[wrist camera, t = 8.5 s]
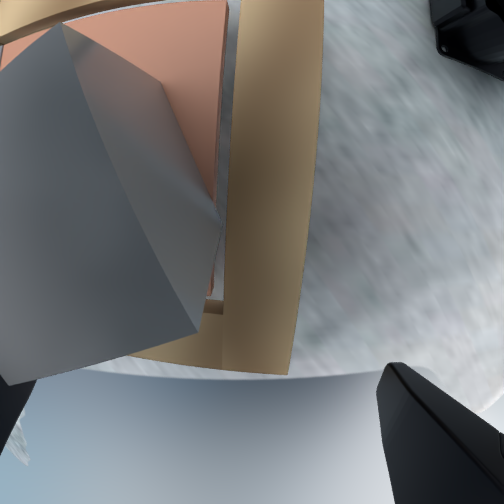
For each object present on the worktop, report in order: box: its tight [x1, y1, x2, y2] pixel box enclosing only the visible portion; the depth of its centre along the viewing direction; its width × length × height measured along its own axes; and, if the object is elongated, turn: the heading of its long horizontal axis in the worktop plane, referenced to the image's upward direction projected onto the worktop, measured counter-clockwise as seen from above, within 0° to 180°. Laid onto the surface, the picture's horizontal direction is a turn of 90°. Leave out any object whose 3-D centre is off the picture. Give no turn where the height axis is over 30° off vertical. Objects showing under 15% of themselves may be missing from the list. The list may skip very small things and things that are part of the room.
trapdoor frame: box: [0, 0, 324, 375], centre depth 13 cm, size 16×16×9 cm
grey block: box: [0, 22, 223, 386], centre depth 7 cm, size 5×5×6 cm
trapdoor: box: [0, 0, 229, 296], centre depth 10 cm, size 10×10×1 cm
